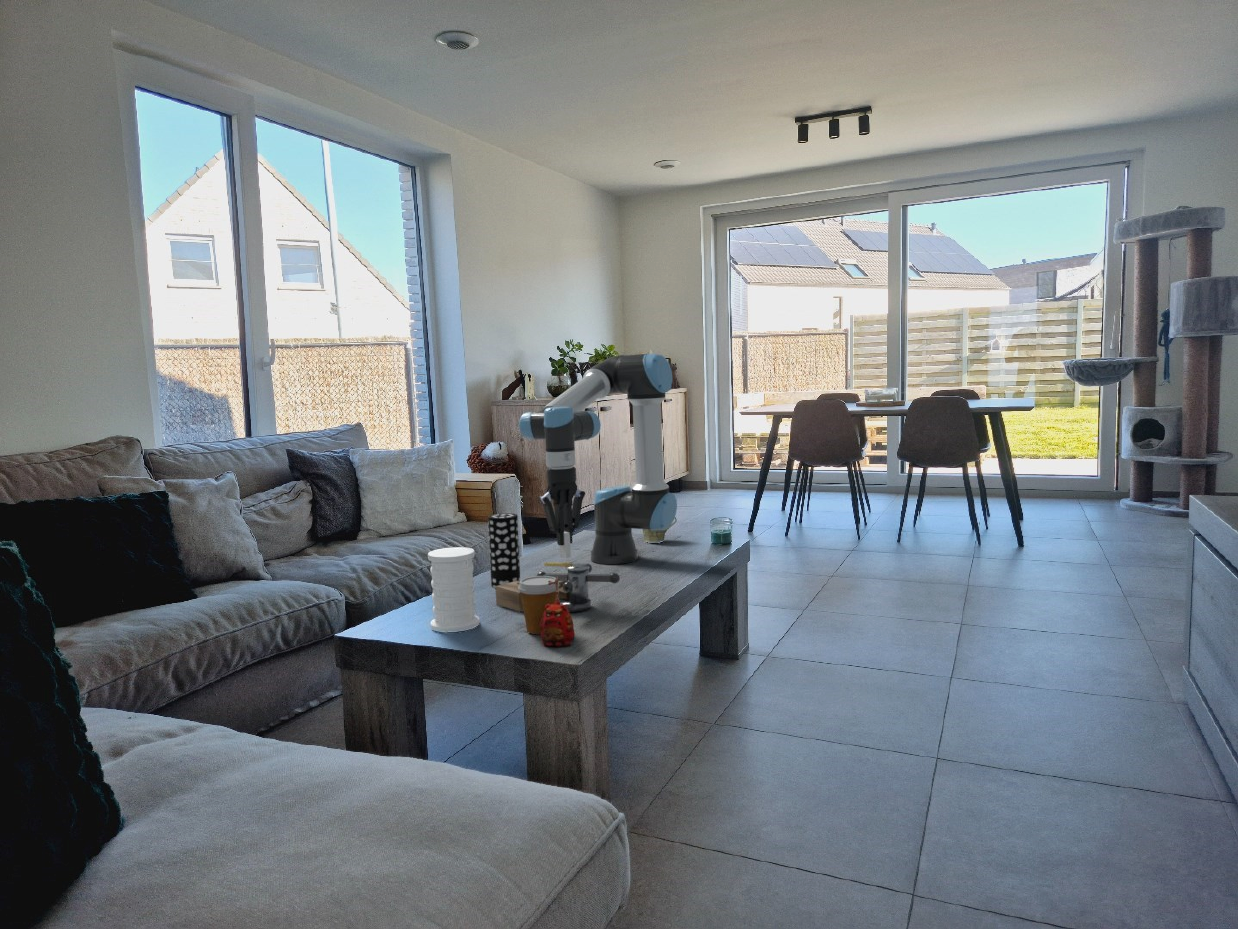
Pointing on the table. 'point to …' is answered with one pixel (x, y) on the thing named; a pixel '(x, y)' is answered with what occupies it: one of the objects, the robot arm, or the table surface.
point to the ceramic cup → (655, 534)
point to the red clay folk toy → (556, 623)
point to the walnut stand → (518, 595)
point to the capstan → (578, 584)
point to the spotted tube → (504, 548)
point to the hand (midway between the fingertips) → (565, 556)
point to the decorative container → (453, 589)
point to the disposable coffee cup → (536, 599)
